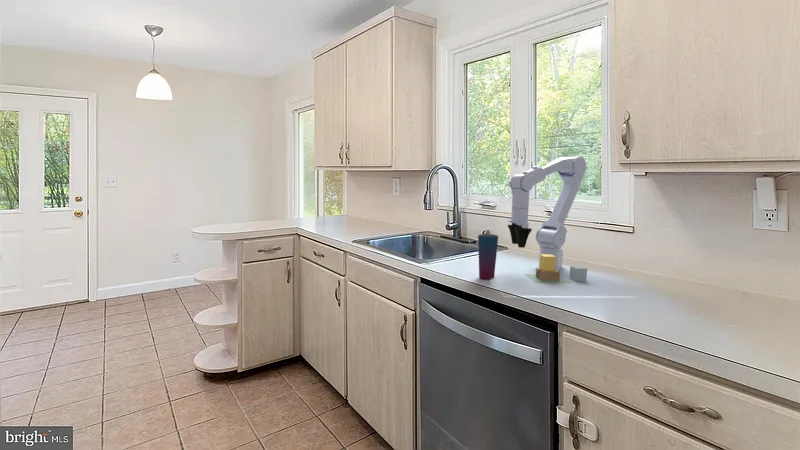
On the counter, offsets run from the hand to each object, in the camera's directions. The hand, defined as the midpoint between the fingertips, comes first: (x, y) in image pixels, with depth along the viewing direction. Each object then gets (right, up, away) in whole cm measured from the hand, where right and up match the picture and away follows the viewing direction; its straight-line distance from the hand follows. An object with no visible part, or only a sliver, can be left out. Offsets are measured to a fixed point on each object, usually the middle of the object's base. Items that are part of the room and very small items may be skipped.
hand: (518, 245), depth 153 cm
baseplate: (+8, -12, -8) cm, 16 cm away
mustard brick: (+8, -8, -8) cm, 14 cm away
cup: (-13, -11, -6) cm, 18 cm away
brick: (+18, -12, -9) cm, 23 cm away
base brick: (+8, -11, -8) cm, 16 cm away
